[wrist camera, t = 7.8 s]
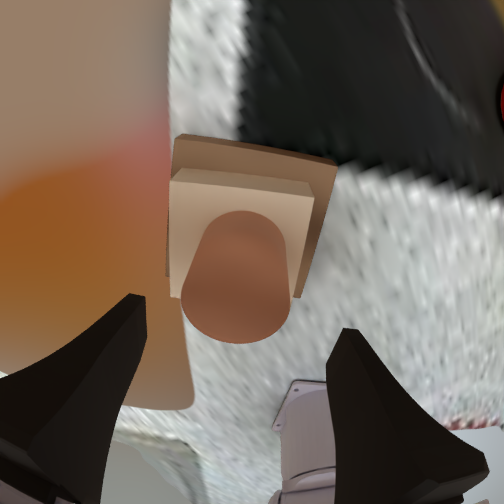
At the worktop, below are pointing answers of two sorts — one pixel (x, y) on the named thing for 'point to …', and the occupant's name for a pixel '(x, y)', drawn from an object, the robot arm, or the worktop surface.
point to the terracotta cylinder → (238, 279)
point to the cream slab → (227, 200)
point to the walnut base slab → (262, 164)
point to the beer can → (502, 102)
